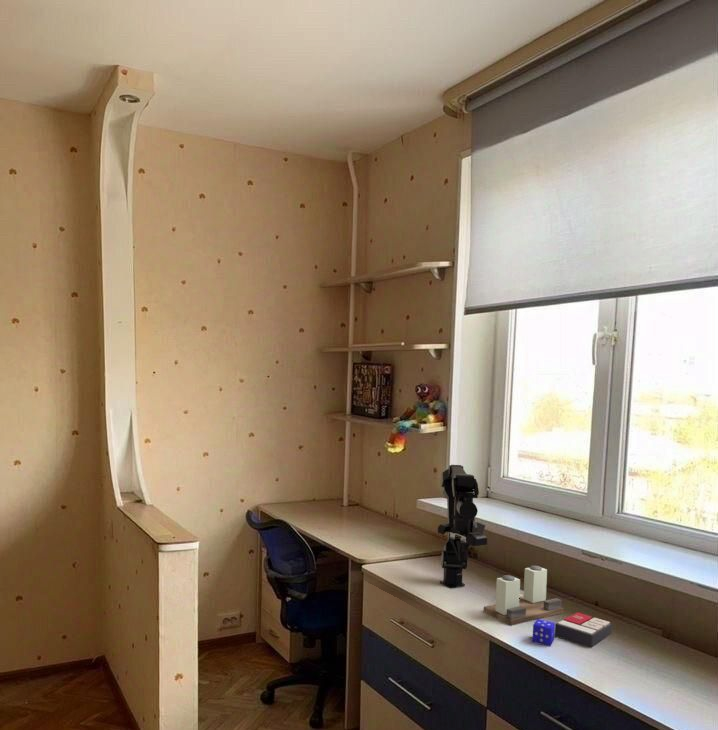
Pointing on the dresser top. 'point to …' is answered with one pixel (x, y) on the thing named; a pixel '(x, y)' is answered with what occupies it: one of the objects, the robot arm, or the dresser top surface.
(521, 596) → the card
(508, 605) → the button
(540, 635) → the die
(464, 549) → the robot arm
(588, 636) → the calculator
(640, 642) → the dresser top surface
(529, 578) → the button
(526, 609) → the wooden base plate
